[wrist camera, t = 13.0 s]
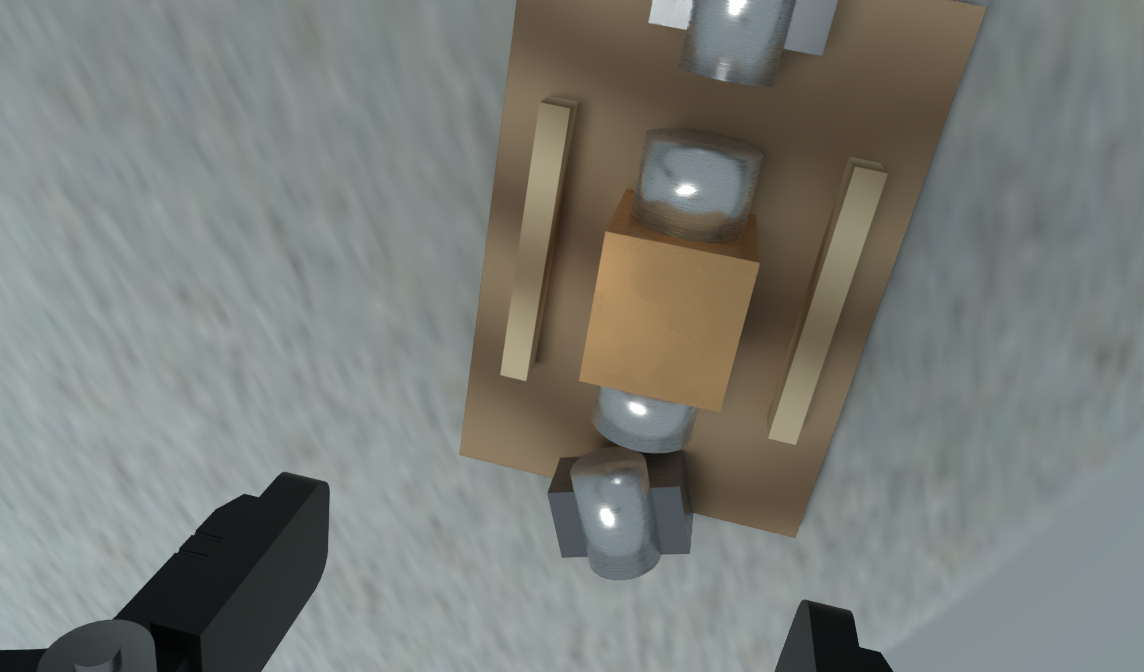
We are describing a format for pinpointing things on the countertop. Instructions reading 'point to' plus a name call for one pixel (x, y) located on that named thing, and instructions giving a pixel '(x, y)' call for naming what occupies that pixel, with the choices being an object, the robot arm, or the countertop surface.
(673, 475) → the shaft
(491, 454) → the wooden tray with rails
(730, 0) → the shaft
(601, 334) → the coupling
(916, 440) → the countertop surface
